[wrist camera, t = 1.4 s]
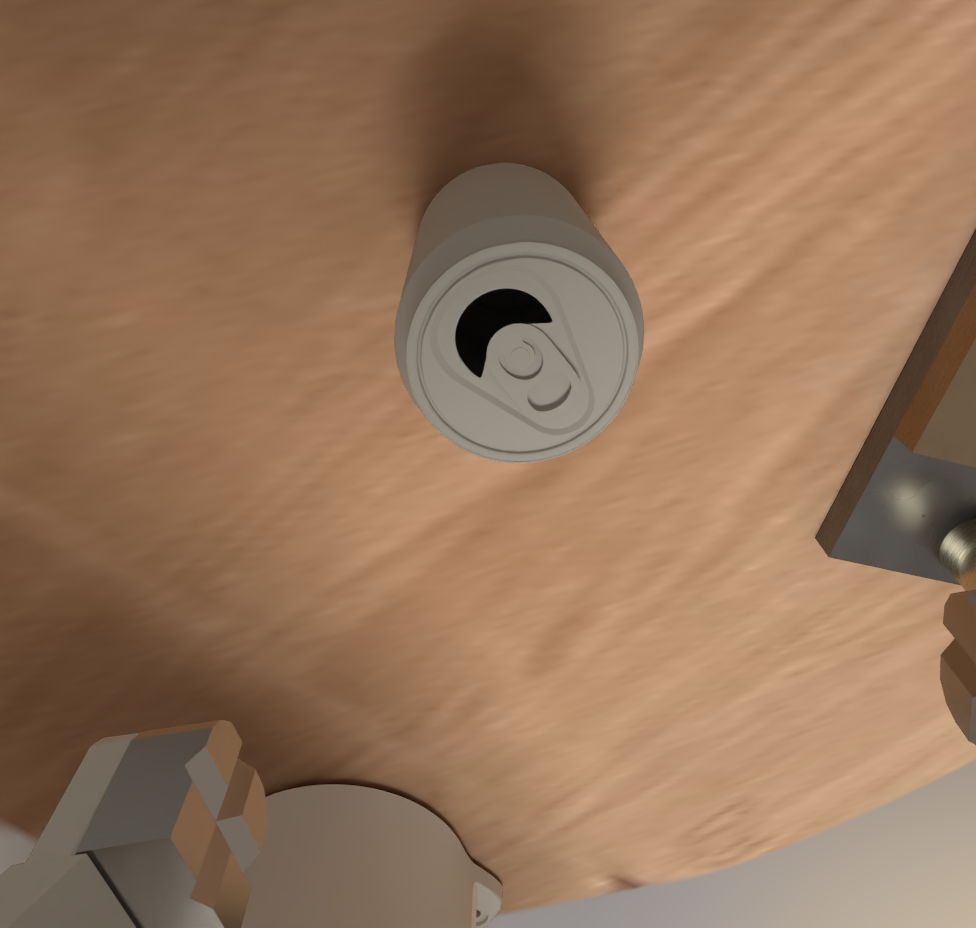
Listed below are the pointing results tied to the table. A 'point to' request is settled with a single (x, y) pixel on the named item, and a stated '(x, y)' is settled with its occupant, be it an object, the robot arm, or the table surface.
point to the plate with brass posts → (920, 456)
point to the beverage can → (516, 318)
